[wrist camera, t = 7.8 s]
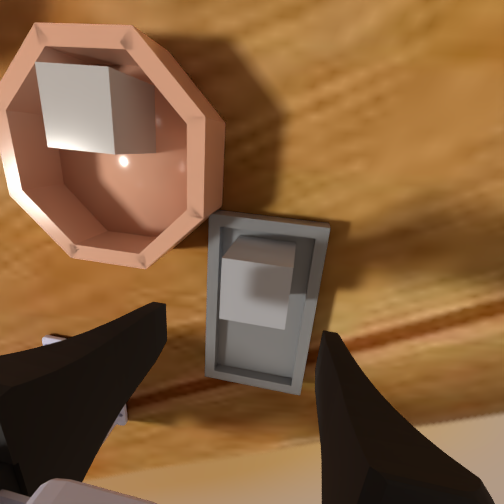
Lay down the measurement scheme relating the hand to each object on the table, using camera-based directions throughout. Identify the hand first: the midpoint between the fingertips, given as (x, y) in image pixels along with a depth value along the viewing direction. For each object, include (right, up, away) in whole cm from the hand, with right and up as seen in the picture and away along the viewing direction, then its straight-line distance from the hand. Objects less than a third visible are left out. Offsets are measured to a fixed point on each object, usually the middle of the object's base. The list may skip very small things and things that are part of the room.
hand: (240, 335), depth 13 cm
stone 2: (+1, +3, +8) cm, 8 cm away
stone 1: (-8, +13, +6) cm, 16 cm away
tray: (+1, 0, +10) cm, 10 cm away
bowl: (-8, +10, +7) cm, 15 cm away
